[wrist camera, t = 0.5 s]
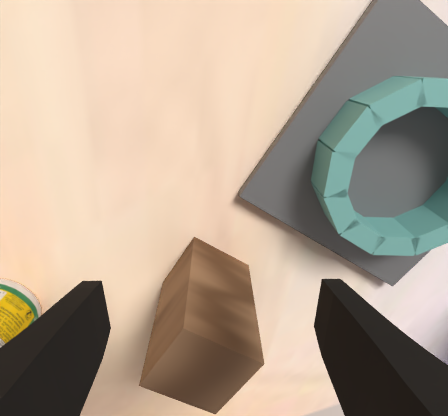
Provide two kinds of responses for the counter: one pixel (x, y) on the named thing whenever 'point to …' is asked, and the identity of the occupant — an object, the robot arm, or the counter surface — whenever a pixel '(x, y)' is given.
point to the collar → (369, 146)
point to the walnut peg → (204, 330)
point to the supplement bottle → (16, 309)
